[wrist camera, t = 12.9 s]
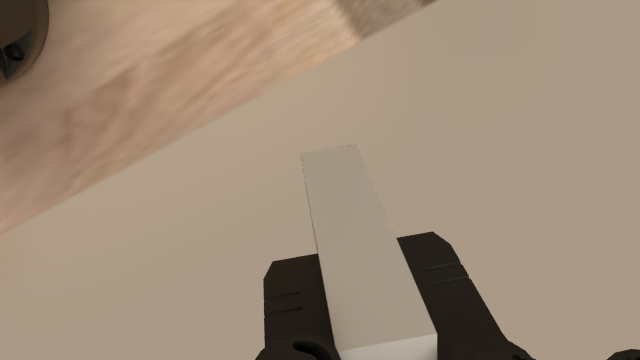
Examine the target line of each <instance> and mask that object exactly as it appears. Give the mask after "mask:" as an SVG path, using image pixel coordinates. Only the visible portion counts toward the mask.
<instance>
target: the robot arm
mask: <svg viewBox="0 0 640 360" xmlns="http://www.w3.org/2000/svg"><path fill="white" fill-rule="evenodd" d="M47 28H48V4H47V0H0V88H1V87H2V86H4V85H6V84H8V83H9V82H11V81H12V80H13V79H15V78H16V77H18V76H19V75H21V74H22V73H23V72H24V71H26V70H27V69H28V68H29V67H30V66H31V65H32V63H33V62H34V61H35V59H36V58H37V56H38V55H39V53H40V51H41V49H42V47H43V44H44V41H45V38H46V34H47ZM301 160H302V166H303V172H304V178H305V184H306V190H307V196H308V202H309V208H310V214H311V219H312V226H313V232H314V237H315V243H316V249H317V254H312V255H307V256H301V257H296V258H290V259H284V260H278V261H273V262H272V264H271V266H270V268H269V270H268V272H267V274H266V276H265V277H264V316H265V318H264V325H265V326H264V327H265V328H264V329H265V348H264V349H263V350H262V351H261V352H260V353H259V355H258V356H257V358H256V359H255V360H536V359H533V358H531V357H530V355H529V354H528V353H527V352H526V351H525V350H523V349H522V348H520V347H518V346H517V345H515V344H513V343H512V342H510V341H508V340H507V339H506V337H505V336H504V335H503V333H502V332H501V330H500V328H499V327H498V325H497V323H496V322H495V320H494V318H493V316H492V315H491V313H490V311H489V310H488V308H487V306H486V304H485V303H484V301H483V300H482V298H481V296H480V294H479V293H478V291H477V289H476V287H475V286H474V284H473V282H472V280H471V279H469V276H468V274H467V272H466V270H465V269H464V267H463V265H461V263H460V260H459V258H458V256H457V255H456V253H455V251H454V250H453V248H452V246H451V245H450V244H449V243H448V242H446V241H445V240H444V239H442V238H441V237H439V236H438V235H437V234H435V233H434V232H427V233H422V234H416V235H410V236H405V237H400V238H396V237H395V234H394V232H393V230H392V227H391V225H390V223H389V220H388V218H387V216H386V213H385V211H384V209H383V206H382V204H381V202H380V200H379V197H378V195H377V192H376V190H375V188H374V186H373V183H372V181H371V178H370V176H369V174H368V171H367V169H366V167H365V164H364V162H363V160H362V157H361V155H360V153H359V151H358V148H357V146H356V144H354V145H348V146H342V147H337V148H330V149H324V150H318V151H313V152H307V153H301ZM607 360H640V350H636V349H629V350H625V351H621V352H616V353H614V354H613V355H612V356H611V357H609V358H608V359H607Z"/></svg>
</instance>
